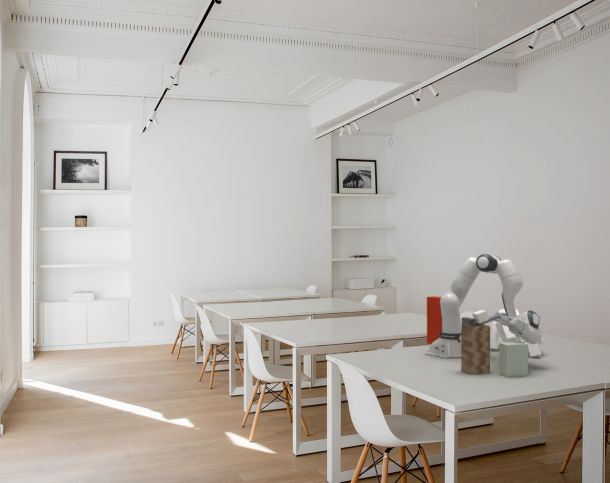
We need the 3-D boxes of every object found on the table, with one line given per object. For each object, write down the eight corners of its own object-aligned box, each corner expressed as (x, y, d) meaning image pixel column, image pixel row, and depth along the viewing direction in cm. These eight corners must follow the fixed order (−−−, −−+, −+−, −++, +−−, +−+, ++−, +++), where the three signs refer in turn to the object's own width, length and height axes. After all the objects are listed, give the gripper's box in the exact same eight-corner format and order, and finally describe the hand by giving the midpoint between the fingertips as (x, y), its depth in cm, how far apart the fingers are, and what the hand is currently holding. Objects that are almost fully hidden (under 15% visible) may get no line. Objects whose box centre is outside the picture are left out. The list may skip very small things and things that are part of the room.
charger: (501, 314, 320) (498, 303, 319) (507, 316, 315) (504, 304, 314) (474, 324, 315) (472, 313, 315) (480, 326, 310) (477, 314, 310)
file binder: (446, 347, 383) (446, 299, 383) (426, 343, 397) (426, 296, 397) (454, 346, 388) (454, 298, 388) (434, 342, 402) (434, 296, 402)
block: (519, 372, 311) (519, 341, 311) (527, 375, 305) (527, 344, 305) (499, 373, 308) (499, 342, 308) (507, 376, 301) (507, 345, 301)
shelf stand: (480, 369, 319) (480, 316, 319) (490, 373, 310) (490, 318, 310) (461, 370, 315) (461, 317, 315) (470, 374, 307) (470, 319, 307)
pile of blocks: (554, 363, 360) (545, 310, 376) (538, 350, 339) (529, 295, 355) (500, 371, 379) (493, 320, 395) (481, 360, 358) (475, 307, 375)
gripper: (507, 319, 330) (489, 307, 327) (531, 324, 310) (511, 311, 307) (503, 328, 329) (484, 317, 326) (525, 334, 309) (506, 322, 306)
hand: (497, 314), depth 316 cm, fingers closed on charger, 3 cm apart
